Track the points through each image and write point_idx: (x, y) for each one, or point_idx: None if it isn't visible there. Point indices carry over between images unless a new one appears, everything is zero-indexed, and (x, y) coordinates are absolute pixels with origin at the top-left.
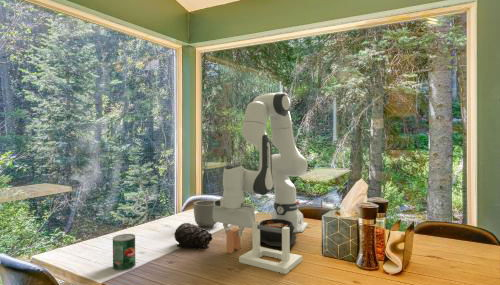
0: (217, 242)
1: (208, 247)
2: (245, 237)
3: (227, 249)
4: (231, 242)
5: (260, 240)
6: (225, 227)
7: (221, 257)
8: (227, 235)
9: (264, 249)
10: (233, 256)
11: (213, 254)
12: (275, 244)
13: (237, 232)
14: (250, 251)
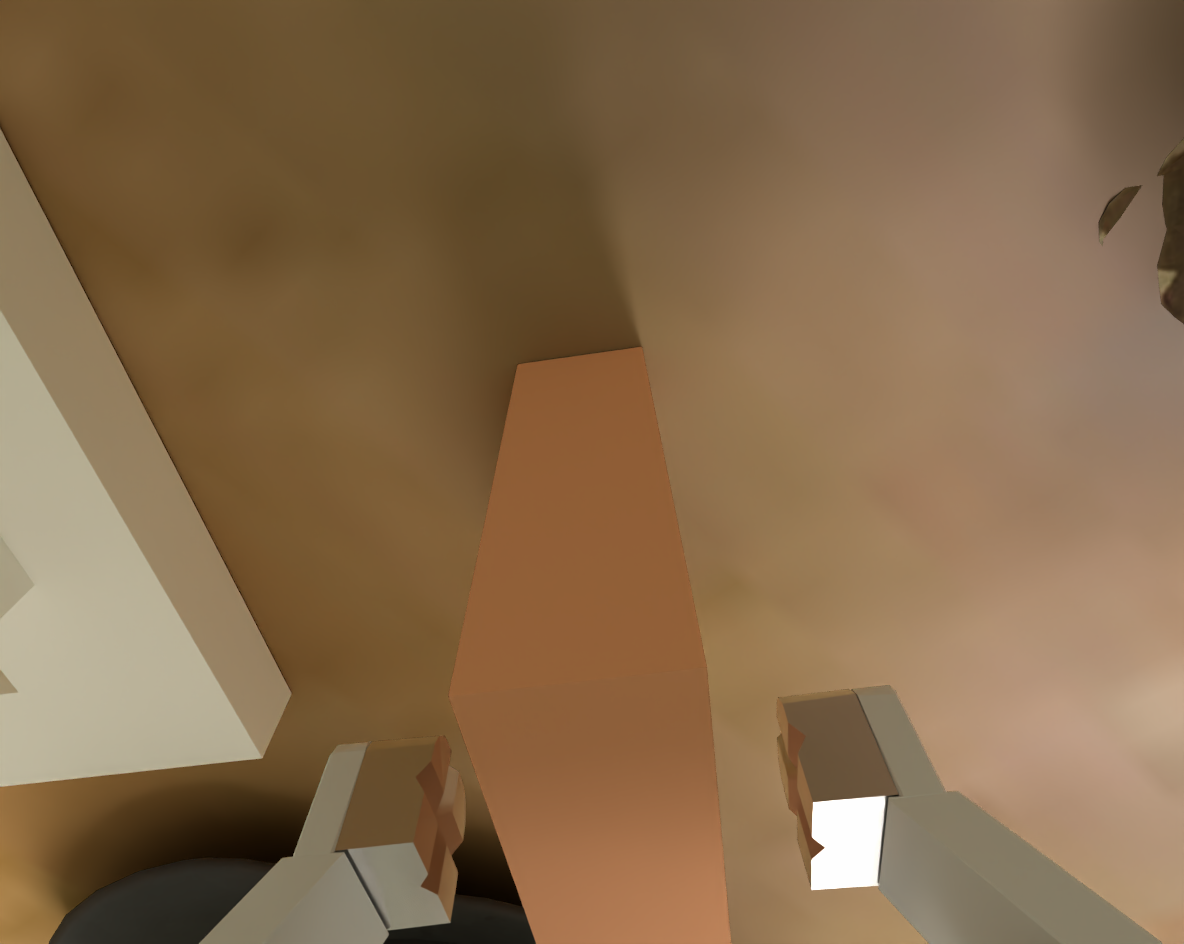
0: (1127, 576)
1: (1174, 286)
2: (827, 892)
3: (625, 374)
4: (493, 482)
5: (454, 902)
6: (982, 884)
7: (504, 31)
8: (650, 580)
9: (52, 723)
10: (360, 274)
11: (804, 38)
12: (150, 906)
13: (388, 836)
14: (92, 530)
